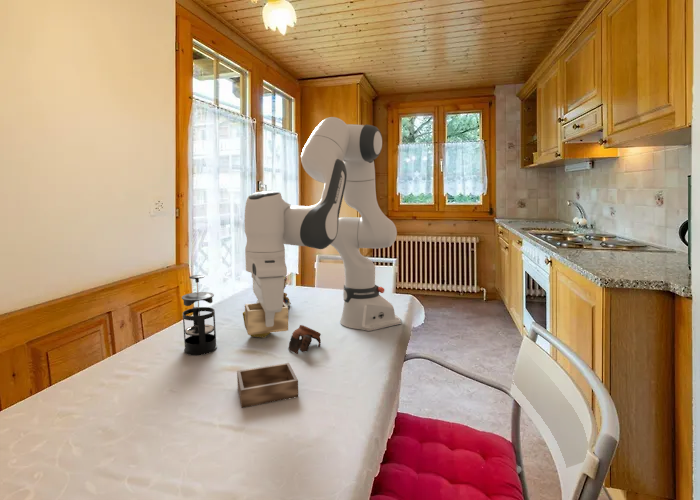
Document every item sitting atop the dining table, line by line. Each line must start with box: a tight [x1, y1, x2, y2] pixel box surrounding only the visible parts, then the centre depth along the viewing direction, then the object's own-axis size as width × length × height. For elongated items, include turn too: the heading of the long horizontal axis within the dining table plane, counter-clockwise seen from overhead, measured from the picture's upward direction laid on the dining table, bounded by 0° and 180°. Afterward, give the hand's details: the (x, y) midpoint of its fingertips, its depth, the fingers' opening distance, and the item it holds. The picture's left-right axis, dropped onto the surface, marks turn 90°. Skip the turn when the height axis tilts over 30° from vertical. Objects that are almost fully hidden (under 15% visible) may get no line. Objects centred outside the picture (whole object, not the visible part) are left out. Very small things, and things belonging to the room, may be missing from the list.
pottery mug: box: [287, 324, 322, 355], centre depth 116 cm, size 12×10×8 cm
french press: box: [181, 274, 218, 357], centre depth 115 cm, size 12×9×23 cm
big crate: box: [236, 362, 299, 409], centre depth 92 cm, size 13×10×4 cm
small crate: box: [244, 302, 289, 336], centre depth 89 cm, size 9×6×6 cm, turn 112°
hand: (266, 320), depth 89 cm, fingers closed on small crate, 6 cm apart
